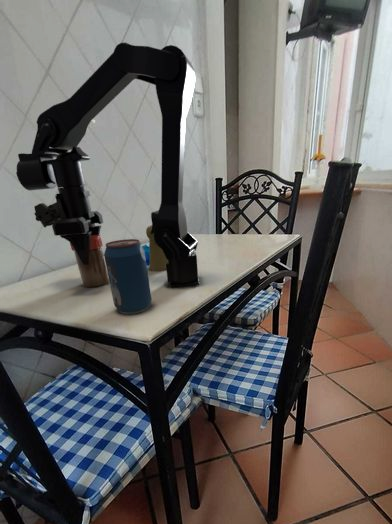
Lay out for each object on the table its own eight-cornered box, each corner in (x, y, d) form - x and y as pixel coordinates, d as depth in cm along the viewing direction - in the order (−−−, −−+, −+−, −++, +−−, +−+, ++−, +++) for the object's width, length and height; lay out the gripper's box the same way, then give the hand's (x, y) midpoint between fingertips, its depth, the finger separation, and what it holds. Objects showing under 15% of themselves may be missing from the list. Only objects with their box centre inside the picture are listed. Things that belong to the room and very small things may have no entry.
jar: (111, 278, 79) (101, 236, 74) (106, 285, 73) (96, 241, 69) (86, 281, 79) (75, 239, 74) (80, 288, 73) (67, 244, 68)
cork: (168, 270, 82) (163, 226, 77) (146, 270, 83) (140, 227, 78) (174, 264, 87) (169, 222, 82) (153, 265, 89) (148, 223, 83)
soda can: (157, 302, 61) (148, 237, 55) (144, 315, 55) (133, 245, 49) (125, 301, 63) (113, 239, 57) (109, 314, 57) (94, 246, 51)
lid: (76, 246, 75) (74, 236, 74) (105, 243, 75) (103, 233, 74) (68, 252, 69) (65, 241, 68) (99, 249, 69) (96, 238, 68)
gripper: (49, 189, 74) (67, 256, 82) (13, 191, 58) (40, 274, 65) (96, 185, 74) (109, 252, 82) (73, 186, 58) (93, 270, 65)
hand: (89, 261), depth 74 cm, fingers closed on lid, 6 cm apart
